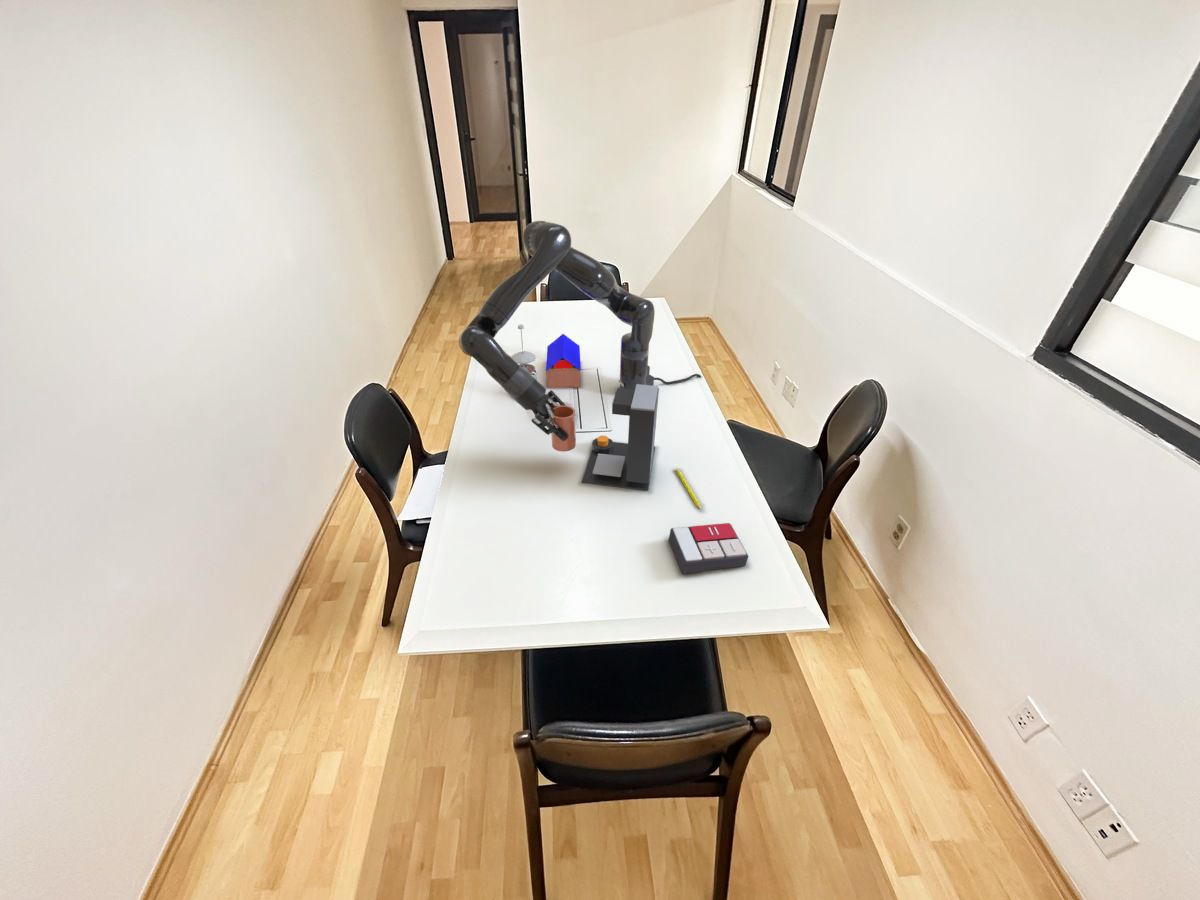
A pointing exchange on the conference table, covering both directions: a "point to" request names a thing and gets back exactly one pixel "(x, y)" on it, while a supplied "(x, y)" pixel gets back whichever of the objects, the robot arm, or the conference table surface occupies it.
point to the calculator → (707, 547)
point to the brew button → (602, 441)
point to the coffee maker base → (606, 480)
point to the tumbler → (564, 428)
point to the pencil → (688, 488)
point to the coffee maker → (634, 434)
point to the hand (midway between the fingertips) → (569, 431)
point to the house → (563, 363)
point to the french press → (525, 358)
